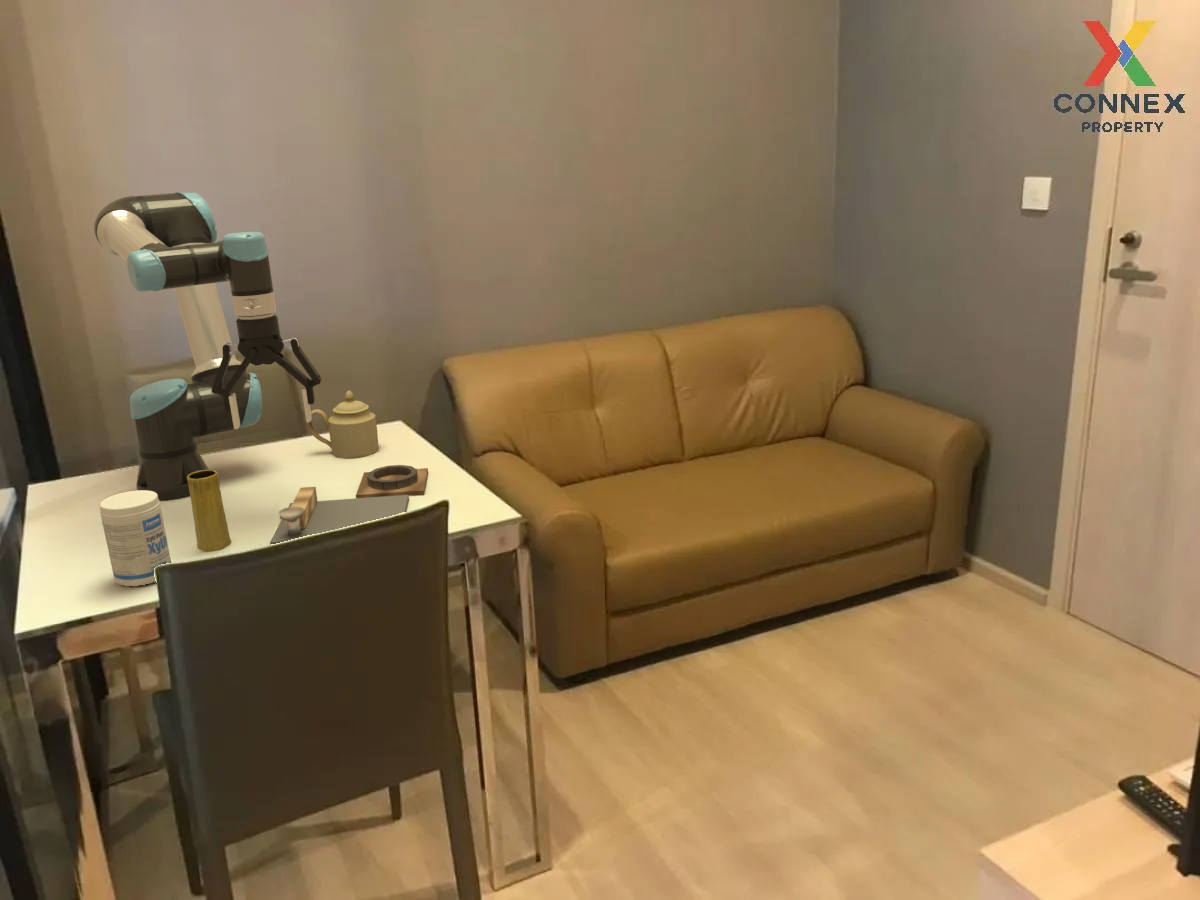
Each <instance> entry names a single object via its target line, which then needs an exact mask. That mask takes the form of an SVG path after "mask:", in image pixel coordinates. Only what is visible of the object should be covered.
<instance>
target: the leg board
mask: <svg viewBox="0 0 1200 900" xmlns="http://www.w3.org/2000/svg"><path fill="white" fill-rule="evenodd" d="M409 497H410V496H408V495H397V496H383V497H369V498H356V497H355V498H345V499H344V498H342V499H331V500H330V499H329V500H328V499H327V500H317V502H316V505H315V507H314V509H313V511H312V513H311V516H310V518H309V520H308V522H307V524H306V526H305V529H301V535H299V536H296V537H290V536H288V531H287V524H286V520H282V519H281V521H280V522H279V523H278V526H277V527H276V530H275V532H274V533H273V535H272V538H271V539H270V541H269V545H271V544H276V543H280V542H284V541H288V540H291V539H295V538H299V537H303V536H307V535H312V534H317V533H322V532H326V531H330V530H335V529H339V528H343V527H347V526H351V525H356V524H360V523H364V522H367V521H372V520H376V519H380V518H384V517H389V516H392V515H396V514H399V513H402V512H406V513H407V509H408V505H409V501H410V498H409ZM292 503H293V502H290V503H289V505H288V507H291V505H292Z"/></svg>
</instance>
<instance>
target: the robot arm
mask: <svg viewBox="0 0 1200 900" xmlns="http://www.w3.org/2000/svg"><path fill="white" fill-rule="evenodd" d="M213 214H214V213H213V212H212V209H211V208H210V205H209V204H208V202H207V201H206V199H205V198H203V197H202V196H201V195H200V194H199V193H196V192H181V191H175V192H174V193H171V192H170V193H159V194H149V195H145V194H144V195H137V196H136V195H131V196H125V197H120V198H118V199H115V200H114V201H111V202H109V203H108V204H107V205H105V206H104V207H103V208H102V209H101V210H100V211H99V213H98V214H97V216H96V218H95V221H94V225H93V226H94V227H93V231H94V236H95V238H96V241H97V242H98V244H99V245H100V246H101V247H102V248H103V249H104V250H105V251H107V252H108V253H110V254H112V255H115V256H119V257H120V258H121V259H123V260H124V262H126V263H127V264H126V266H127V272H128V277H129V279H130V283H132V287H133V288H134V289H135V290H136V291H138V292H149V291H150V292H159V291H162V290H169V289H173V290H174V293H175V297H176V300H177V303H178V307H179V311H180V314H181V317H182V318H181V319H182V321H183V325H184V330H185V333H186V337H187V338H188V339H187V340H188V344H189V348H190V351H191V354H192V358H193V361H194V362H193V363H194V365H195V369H194V371H193V372H192V374H191V375H190V377H191V382H192V383H187V382H186V380H185V379H183V378H177V377H175V378H169V379H168V378H167V379H162V380H157V381H155V382H154V381H153V382H151V383H149V384H146V385H143V386H141V387H139V388H137V389H136V390H134V392H132V393H131V396H130V397H129V406H130V418H131V419H132V423H133V427H134V433H135V438H136V443H137V449H138V454H139V455H138V456H139V460H140V461H139V465H138V466H139V467H138V470H137V471H138V472H137V478H136V491H138V490H147V491H153V492H155V493H157V495H158V499H159V501H166V500H174V499H180V498H181V499H182V498H186V497H188V496H189V497H190V491H189V486H188V480H187V476H188V475H189V474H190V473H193V472H196V471H200V470H210V469H209V467H208V466H207V464H206V462H205V460H204V459H203V457H202V456H201V454H200V452H199V450H198V445H197V438H200V437H204V436H209V435H214V434H218V433H222V432H223V433H224V432H228V431H229V432H230V431H234V430H237V431H238V430H241V429H243V428H247V427H250V426H254V425H256V424H257V423H258V422H259V421H260V419H261V416H262V410H263V396H262V395H263V394H262V389H261V384H260V380H259V379H258V376H257V374H256V373H254V372H248V371H247V368H248V366H249V365H250V364H251V365H252V366H253V365H254V367H255V366H256V367H257V366H261V365H273V364H274V363H276V364H278V365H279V366H280V367H281V368H283V370H285V371H286V372H288V374H290V375H291V376H292V377H293V378H294V379H296V381H298V382H299V383H300V384H301V385H302V389H301V395H302V399H303V400H302V402H303V409H304V415H305V420H306V421H305V422H306V423H307V422H311V423H312V419H313V415H312V416H311V411H312V409H311V405H314V404H315V400H316V399H315V398H316V397H315V391H314V387H315V386H317V385H320V384H321V382H322V377H321V375H320V373H319V372H318V371H317V369H316V368H315V366H314V365H313V364H312V362H311V361H310V360H309V358H308V356H307V354H306V353H305V352H304V351H303V349H302V348H301V346H300V341H299V338H298V337H297V336H294V337H292V338H290V339H285V340H283V338H282V337H281V332H280V325H279V318H278V316H277V315H276V314H275V313H276V312H277V306H276V305H277V304H276V298H275V293H274V292H275V291H274V288H273V286H274V285H273V278H272V273H271V266H270V265H271V264H270V260H269V259H270V258H269V249H268V245H267V241H266V237H265V235H264V234H263V233H262V232H260V231H241V232H232V233H227V234H225V235H224V236H223V238H222V239H223V240H218V241H217V239H218V238H217V237H218V234H217V233H218V232H217V228H216V221H215V217H214V215H213ZM225 282H229V286H230V291H231V298H232V304H233V311H234V315H235V316H236V317H238V318H237V319H236V320H235V322H236V323H235V324H236V328H237V335H238V344H237V343H234V344H232V339H231V336H230V333H229V328H228V325H227V323H226V322H227V321H226V318H225V315H224V312H223V307H222V304H221V300H220V297H219V292H218V289H217V285H216V283H225ZM284 347H286V348H287V349H288V350H289V351H291V352H293V354H294V356H295V357H296V359H297V361H298V362H299V363H300V365H301V366H302V368H303V369H304V370H305V372H306V373H307V374H308V376H309V377H310V378H309V377H308V376H307V375H306V374H304V373H303V371H301V370H300V369H299V368H298V367H297V366H295V364H293V363H292V362H291V361H290V360H289V359H288V358H287V357H286V356H285V355H284V353H282V351H283V349H284ZM237 351H238V352H239V353H240V354H241V356H242V357H244V359H243V360H242V362H241V361H239V360H238V359H237V358H236V354H235V353H236V352H237Z"/></svg>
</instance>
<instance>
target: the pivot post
mask: <svg viewBox="0 0 1200 900" xmlns="http://www.w3.org/2000/svg"><path fill="white" fill-rule="evenodd" d="M286 524H287V531H288V536H290V537H296V536H299V535H301V528H300V521H299V518H298V519H295V520H286Z"/></svg>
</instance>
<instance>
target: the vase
mask: <svg viewBox="0 0 1200 900" xmlns="http://www.w3.org/2000/svg"><path fill="white" fill-rule="evenodd" d="M218 475H219V474H218V471H217V470H216V469H209V470H200V471H196V472H193V473H190V474H189V475H188V476H187V480H188V486H189V491H190V495H189V499H190V503H191V508H192V516H193V517H192V518H193V523H194V530H195V531H194V533H195V537H196V548H197V550H199V551H202V552H215V551H220V550H222V549H225V548H227V547H228V546H230V545H231V544H232V539H231V536H230V532H229V526H228V521H227V517H226V513H225V508H224V504H223V498H222V492H221V487H220V482H219V481H220V480H219V476H218Z"/></svg>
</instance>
